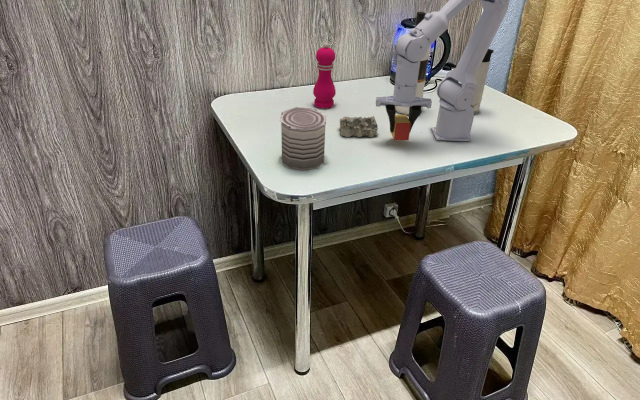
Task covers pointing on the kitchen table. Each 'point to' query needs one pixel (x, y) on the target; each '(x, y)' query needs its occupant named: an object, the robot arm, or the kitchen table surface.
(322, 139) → the can
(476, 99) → the travel mug
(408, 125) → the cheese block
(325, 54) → the pepper mill
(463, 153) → the kitchen table surface
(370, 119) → the egg carton
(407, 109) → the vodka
